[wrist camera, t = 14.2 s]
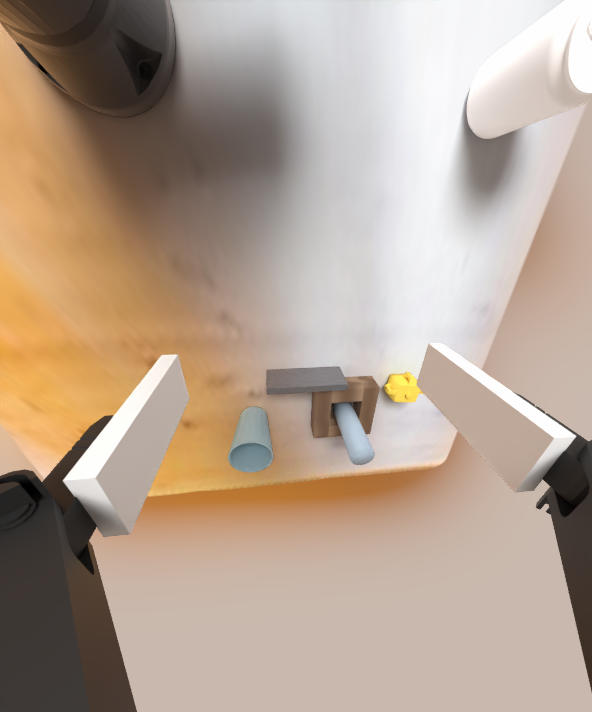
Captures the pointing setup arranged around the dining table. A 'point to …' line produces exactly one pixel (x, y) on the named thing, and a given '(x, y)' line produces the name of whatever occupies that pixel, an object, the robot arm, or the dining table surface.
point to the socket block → (358, 392)
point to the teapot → (402, 387)
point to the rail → (305, 380)
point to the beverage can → (535, 73)
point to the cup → (251, 442)
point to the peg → (353, 433)
